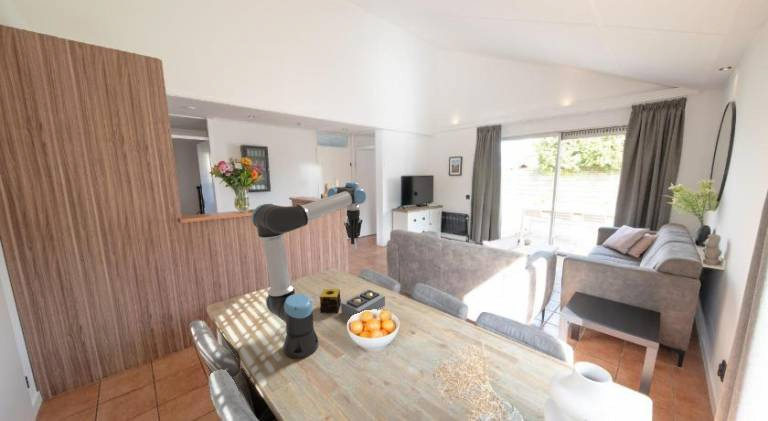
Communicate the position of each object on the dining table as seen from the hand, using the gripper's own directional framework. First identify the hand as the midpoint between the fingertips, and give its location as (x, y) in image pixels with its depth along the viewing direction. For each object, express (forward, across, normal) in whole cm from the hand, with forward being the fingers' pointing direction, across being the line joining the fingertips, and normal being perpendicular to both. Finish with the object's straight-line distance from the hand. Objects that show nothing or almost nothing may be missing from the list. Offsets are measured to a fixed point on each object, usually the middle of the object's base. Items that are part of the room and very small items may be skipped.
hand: (354, 248), depth 161 cm
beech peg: (+32, -10, -11) cm, 35 cm away
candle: (+33, -16, +4) cm, 37 cm away
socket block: (+32, -4, -11) cm, 35 cm away
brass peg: (+32, 0, -11) cm, 34 cm away
